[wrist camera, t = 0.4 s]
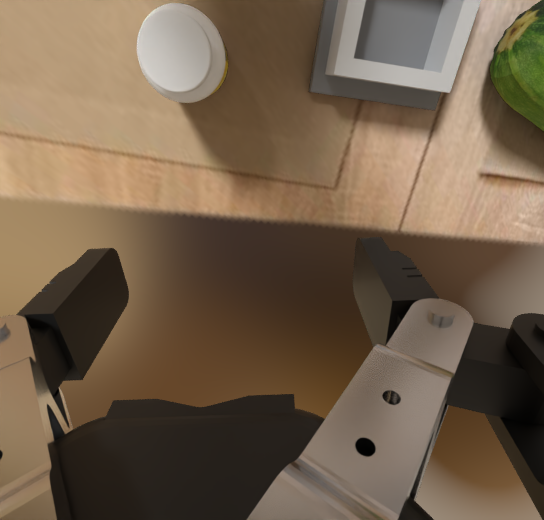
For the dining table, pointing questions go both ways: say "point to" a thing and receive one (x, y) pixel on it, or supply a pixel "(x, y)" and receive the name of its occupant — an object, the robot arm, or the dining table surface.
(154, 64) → the supplement bottle
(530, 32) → the vegetable
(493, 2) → the dining table surface
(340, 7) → the board
